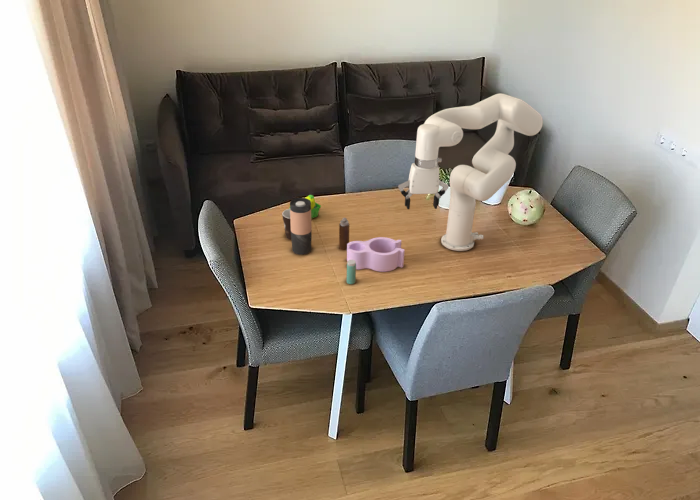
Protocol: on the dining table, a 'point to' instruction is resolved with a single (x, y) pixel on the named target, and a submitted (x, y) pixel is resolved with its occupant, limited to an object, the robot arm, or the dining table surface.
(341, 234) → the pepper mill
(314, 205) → the fruit basket
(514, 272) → the dining table surface
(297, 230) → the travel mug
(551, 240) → the dining table surface
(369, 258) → the clip
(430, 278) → the dining table surface
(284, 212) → the coffee mug
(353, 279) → the green cylinder
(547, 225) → the dining table surface
